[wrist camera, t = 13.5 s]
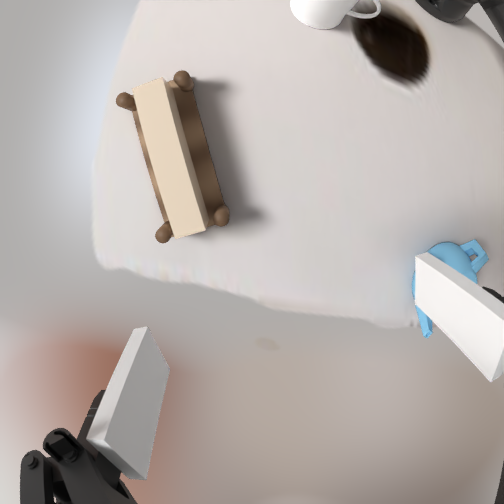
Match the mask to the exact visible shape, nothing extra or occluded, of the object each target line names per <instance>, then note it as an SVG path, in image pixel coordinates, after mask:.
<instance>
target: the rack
mask: <svg viewBox="0 0 504 504" xmlns="http://www.w3.org/2000/svg"><path fill="white" fill-rule="evenodd" d="M168 83H169V85H170V86H171V87H172V89H173V92H174V96H175V100H176V104H177V108H178V111H179V115H180V119H181V123H182V126H183V130H184V134H185V137H186V141H187V144H188V148H189V152H190V155H191V159H192V162H193V166H194V169H195V173H196V176H197V180H198V183H199V186H200V190H201V193H202V197H203V200H204V203H205V207H206V210H207V213H208V217H209V222H208V225H207V227H209V226H212V225H217V226H220V227H222V226H225V225H226V224H227V223H228V222H229V209H228V207H227V206H225V205H224V201H223V198H222V194H221V191H220V187H219V184H218V180H217V177H216V173H215V170H214V166H213V163H212V159H211V156H210V152H209V148H208V145H207V141H206V138H205V134H204V130H203V127H202V123H201V120H200V116H199V112H198V109H197V105H196V101H195V98H194V94H193V90H192V89H193V87H194V82H193V81H192V79H191V77H190V75H189V74H188V72H186V71H178V72H177V73H176V74H175V75H174V80H172V81H169V82H168ZM116 104H117V105H118V106H120V107H122V108H125V109H128V110H130V111H132V113H133V117H134V121H135V125H136V128H137V132H138V136H139V140H140V143H141V147H142V151H143V154H144V158H145V161H146V165H147V168H148V171H149V175H150V178H151V182H152V185H153V188H154V191H155V194H156V198H157V201H158V204H159V207H160V210H161V213H162V216H163V219H164V222H165V223H164V224H163V225H162V226H161V227H160V228H159V229H158V230H157V232H156V234H155V237H156V239H157V241H158V242H160V243H166V242H168V241H169V239H170V238H171V237H174V234H173V231H172V228H171V225H170V222H169V219H168V216H167V213H166V210H165V206H164V203H163V200H162V197H161V194H160V190H159V187H158V184H157V181H156V177H155V174H154V170H153V167H152V164H151V160H150V157H149V153H148V149H147V146H146V142H145V138H144V135H143V131H142V127H141V123H140V119H139V115H138V111H137V107H136V103H135V99H134V95H130V94H128V93H126V92H123V93H120V94H119V95H118V96H117V98H116Z"/></svg>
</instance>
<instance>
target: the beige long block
mask: <svg viewBox="0 0 504 504" xmlns="http://www.w3.org/2000/svg"><path fill="white" fill-rule="evenodd" d="M132 91H133V95H134V99H135V103H136V107H137V111H138V115H139V119H140V123H141V127H142V131H143V135H144V138H145V142H146V146H147V149H148V153H149V157H150V160H151V164H152V167H153V170H154V174H155V177H156V181H157V184H158V187H159V190H160V194H161V197H162V200H163V203H164V206H165V210H166V213H167V216H168V219H169V222H170V225H171V228H172V231H173V234H174V237H175V239H177V238H181V237H184V236H188V235H191V234H195V233H198V232H202V231H205V230H206V228H207V225H208V222H209V217H208V213H207V210H206V207H205V203H204V200H203V197H202V193H201V190H200V186H199V183H198V180H197V176H196V173H195V169H194V166H193V162H192V159H191V155H190V152H189V148H188V144H187V141H186V137H185V134H184V130H183V126H182V123H181V119H180V115H179V111H178V108H177V104H176V100H175V96H174V92H173V89H172V87H171V86H170V85H169V83H168V82H167V81H166V80H165V79H164V78H163V77H161V78H158V79H156V80H153V81H150V82H148V83H145V84H142V85H140V86H137V87H135V88H132Z"/></svg>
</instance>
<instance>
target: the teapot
mask: <svg viewBox="0 0 504 504" xmlns="http://www.w3.org/2000/svg"><path fill="white" fill-rule="evenodd" d="M427 252H428V253H430V254H431V255H433V256H434V257H436V258H438V259H439V260H441V261H442V262H444V263H445V264H447V265H449V266H450V267H452V268H453V269H455V270H456V271H458V272H459V273H461V274H462V275H464V276H465V277H467V278H468V279H470V280H471V281H473V282H474V283H476V284H477V276H476V273H477V272H478V271H479V270H480V268H481V267H482V266H483V265H484V264H485V263H486V262H487V261H488V260H489V258H488V256H487V254H486V253H485V251H484V250H483V249H482V248H481V246H480V245H479V244H478V242H477V241H476V240H475V239H474V240H472V241H470V242H467V243H465V244H463V245H460V246H458V245H456V244H454V243H451V242H444V243H440V244H438V245H436V246H434V247H432V248H431V249H430V250H429V251H427ZM473 254H475V255H476V256H477V258H475V259H474V260H473V261H471V260H470V258H469V256H471V255H473ZM412 293H413V297H414V300H415V272H414V276H413V281H412ZM415 307H416V310H417V314H418V317H419V321H420V325H421V329H422V332H423V336H424V337H425V338H428V337H429V336H430V335H431V334H432V320H431V319H430V318H429V317H428V316H427V315H426V314H425V313H424V312H423V311H422V310H421V309H420V308H419V307H418V306H417V305H415Z"/></svg>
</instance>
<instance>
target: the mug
mask: <svg viewBox="0 0 504 504" xmlns="http://www.w3.org/2000/svg"><path fill="white" fill-rule="evenodd" d="M358 1H359V0H291V2H290V6H291V10H292V12H293V14H294V15H295V17H296V18H297V19H298V20H300V21H301V22H302V23H304V24H305V25H307V26H310V27H312V28H316V29H331V28H334V27H336V26H337V25H339V24H340V23H341V21H342V19H343V17H344V16H345V15H346V14H347V15H350V16H354V17H358V18H373V17H376V16H377V15H378V14H379V13H380V11H381V4H380V2H379V0H372V1H373V2H374V3H375V4H376V6H377V11H376V12H375V13H372V14H361V13H357V12H354V11H352V10H351V8H352V7H353V6H354V5H355V4H356V3H357V2H358Z"/></svg>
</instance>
